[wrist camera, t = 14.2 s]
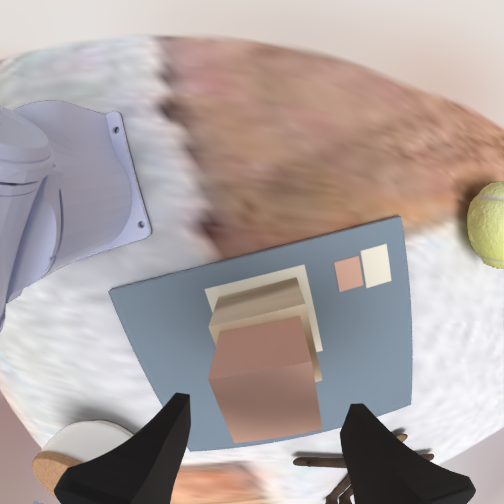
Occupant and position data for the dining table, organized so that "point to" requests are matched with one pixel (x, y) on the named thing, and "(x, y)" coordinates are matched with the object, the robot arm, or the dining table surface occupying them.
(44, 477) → the lidded bowl
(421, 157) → the dining table surface
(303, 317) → the maple block
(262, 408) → the terracotta block
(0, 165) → the robot arm
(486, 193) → the tennis ball
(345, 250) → the board
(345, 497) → the bear figurine
